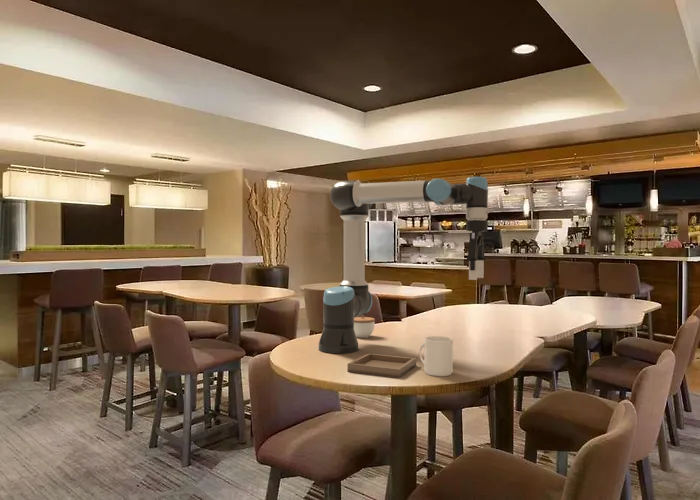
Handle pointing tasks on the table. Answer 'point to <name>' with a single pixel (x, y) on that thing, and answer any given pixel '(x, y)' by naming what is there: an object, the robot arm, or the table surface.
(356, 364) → the tray
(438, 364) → the mug
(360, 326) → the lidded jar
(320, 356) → the table surface
